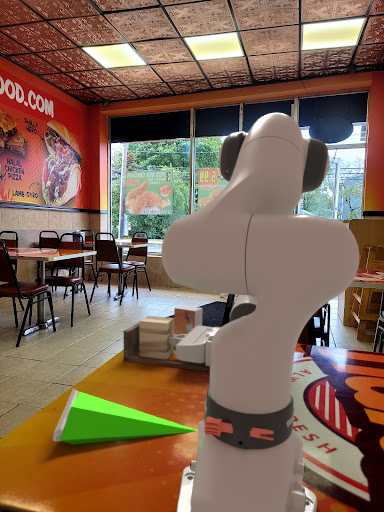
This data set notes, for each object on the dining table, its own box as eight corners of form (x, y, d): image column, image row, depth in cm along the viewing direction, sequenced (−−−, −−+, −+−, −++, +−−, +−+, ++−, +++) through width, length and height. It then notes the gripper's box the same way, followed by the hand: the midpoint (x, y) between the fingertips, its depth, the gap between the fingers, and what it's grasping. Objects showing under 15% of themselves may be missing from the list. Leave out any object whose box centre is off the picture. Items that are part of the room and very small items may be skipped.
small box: (173, 339, 119) (173, 307, 118) (181, 334, 124) (181, 304, 123) (194, 343, 115) (195, 310, 114) (202, 338, 120) (202, 307, 119)
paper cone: (197, 421, 72) (72, 404, 70) (202, 401, 70) (74, 383, 68) (197, 474, 62) (51, 455, 60) (203, 451, 60) (52, 431, 58)
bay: (210, 375, 90) (210, 340, 89) (123, 364, 97) (123, 331, 96) (221, 356, 103) (221, 326, 103) (144, 347, 110) (144, 318, 109)
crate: (166, 359, 97) (166, 323, 96) (139, 356, 99) (139, 321, 99) (173, 352, 103) (174, 318, 102) (147, 349, 105) (148, 315, 104)
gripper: (226, 322, 106) (181, 318, 109) (210, 344, 86) (157, 338, 90) (226, 343, 106) (181, 339, 110) (210, 369, 87) (156, 362, 90)
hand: (170, 338), depth 100 cm, fingers closed, pressing on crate
